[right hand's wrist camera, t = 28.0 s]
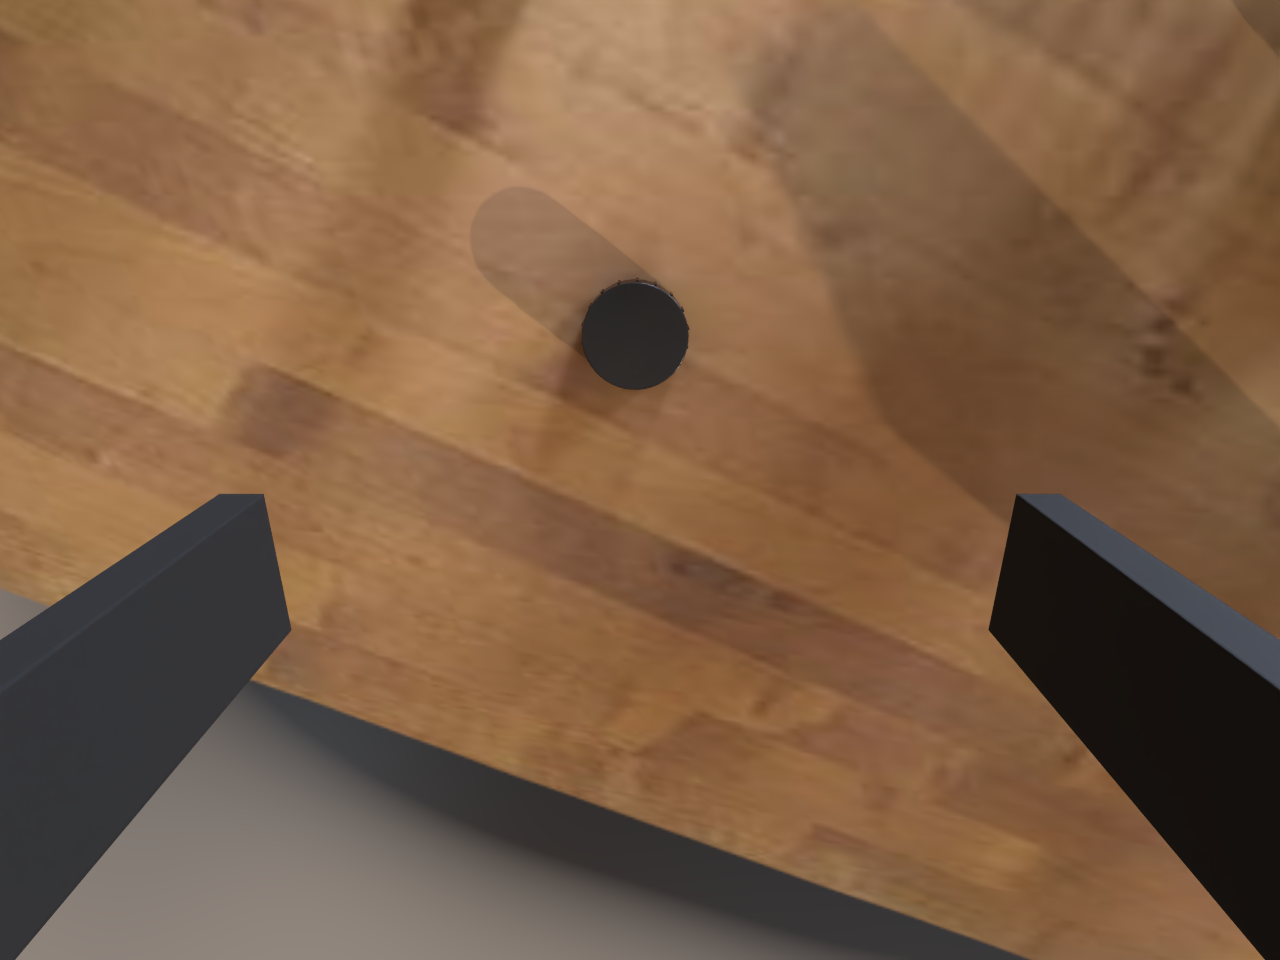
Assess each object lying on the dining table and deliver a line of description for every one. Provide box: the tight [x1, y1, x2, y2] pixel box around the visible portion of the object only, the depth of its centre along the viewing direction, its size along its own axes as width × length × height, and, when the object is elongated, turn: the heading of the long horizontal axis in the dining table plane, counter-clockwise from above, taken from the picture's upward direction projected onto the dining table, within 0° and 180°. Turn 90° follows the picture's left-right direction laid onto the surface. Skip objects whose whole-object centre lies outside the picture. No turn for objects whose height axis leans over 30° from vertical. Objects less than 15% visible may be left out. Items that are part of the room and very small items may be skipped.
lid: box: [582, 278, 689, 390], centre depth 36 cm, size 6×6×2 cm
